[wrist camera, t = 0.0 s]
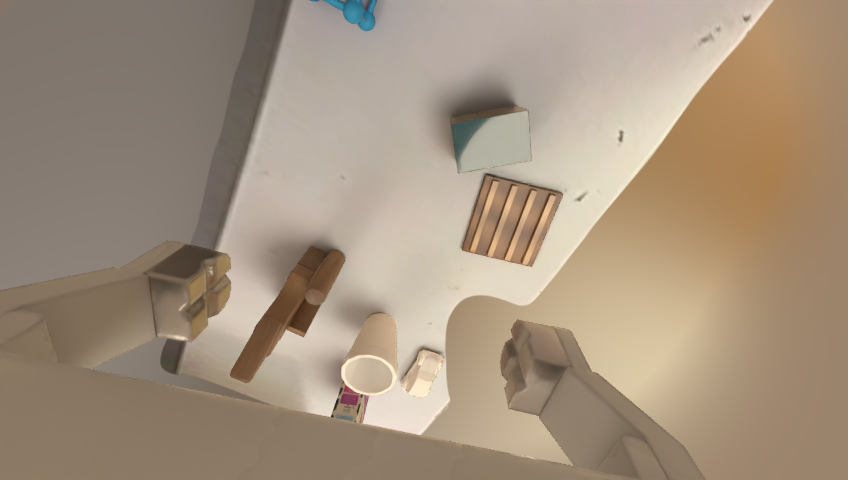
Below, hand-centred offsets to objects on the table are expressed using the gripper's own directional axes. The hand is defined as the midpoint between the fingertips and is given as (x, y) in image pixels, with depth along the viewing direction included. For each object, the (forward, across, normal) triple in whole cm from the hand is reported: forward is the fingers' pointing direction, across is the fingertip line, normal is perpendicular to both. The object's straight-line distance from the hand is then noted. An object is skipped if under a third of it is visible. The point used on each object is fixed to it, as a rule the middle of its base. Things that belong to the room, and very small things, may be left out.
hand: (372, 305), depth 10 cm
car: (+48, -11, +50) cm, 71 cm away
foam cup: (+48, 0, +41) cm, 63 cm away
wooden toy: (+48, +14, +33) cm, 60 cm away
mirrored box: (+48, -9, 0) cm, 49 cm away
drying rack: (+48, -18, +13) cm, 53 cm away
